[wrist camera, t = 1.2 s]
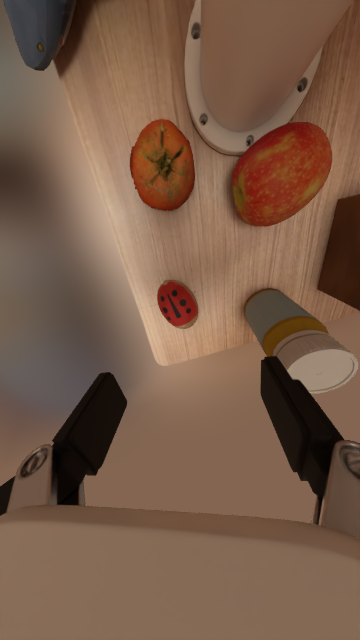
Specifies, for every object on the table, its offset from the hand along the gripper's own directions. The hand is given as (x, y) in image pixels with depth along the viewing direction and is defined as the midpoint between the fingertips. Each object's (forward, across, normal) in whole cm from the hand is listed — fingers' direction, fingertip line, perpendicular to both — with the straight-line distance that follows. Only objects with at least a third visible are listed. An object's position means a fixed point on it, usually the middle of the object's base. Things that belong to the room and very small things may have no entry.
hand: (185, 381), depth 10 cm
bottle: (+20, -12, +5) cm, 24 cm away
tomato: (+20, +1, -16) cm, 25 cm away
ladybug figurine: (+21, +3, +2) cm, 21 cm away
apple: (+20, -11, -12) cm, 26 cm away
